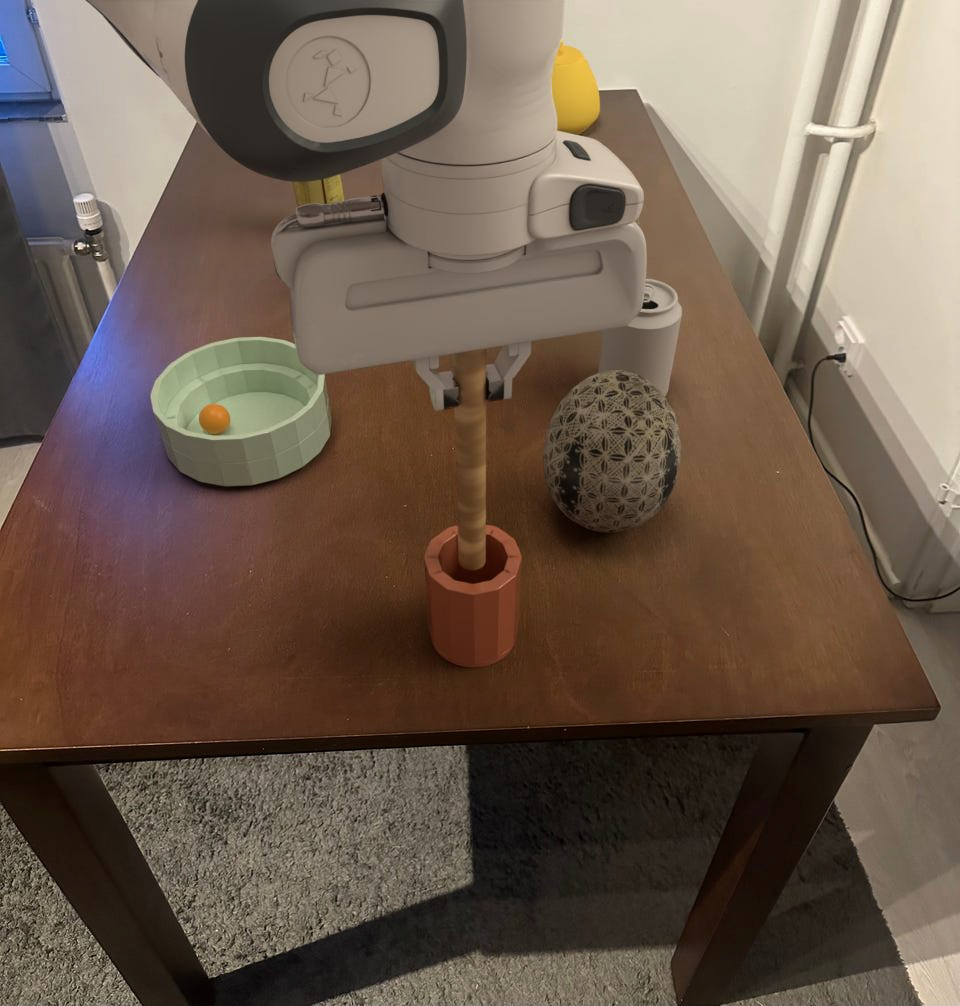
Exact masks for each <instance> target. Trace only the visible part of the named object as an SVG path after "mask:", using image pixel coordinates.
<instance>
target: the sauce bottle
mask: <svg viewBox="0 0 960 1006" xmlns="http://www.w3.org/2000/svg"><path fill="white" fill-rule="evenodd" d="M291 183H292V188H293V193H294V198H295V203H296V208H297V207H299V206H302V205H306V204H311V203H321V204H329V203H330V204H331V203H337V202H342V201H344V200H345V197H344V189H343V183H342V177H341V174H339V175H336V176H333V177H329V178H325V179H321V180H316V181H307V182H292V181H291Z"/></svg>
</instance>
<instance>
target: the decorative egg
mask: <svg viewBox="0 0 960 1006" xmlns="http://www.w3.org/2000/svg"><path fill="white" fill-rule="evenodd" d="M681 441H682V440H681V433H680V427H679V423H678V419H677V416H676V413H675V411H674V409H673V407H672V405H671V403H670V402H669V400H668V399H667V397H666V396H664V395H663V394H662V392H661V391H660V390H659V389H658V388H657V387H656V386H655V385H654V384H652V383H651V382H650V381H648V380H647V379H645V378H644V377H642V376H640V375H638V374H636V373H633V372H630V371H624V370H610V371H603V372H600V373H598V372H597V373H595V374H592V375H591V376H588V377H587V378H585V379H583V380H582V381H579V383H578V384H576V385H574V387H572V388H571V389H570V391H568V392H567V394H566V395H565V396H564V397H563V398H562V400H561V401H560V403H559V404H558V405H557V408H556V409H555V411H554V413H553V414H552V417H551V420H550V422H549V425H548V428H547V430H546V434H545V440H544V445H543V450H542V451H543V452H542V466H543V467H542V468H543V475H544V479H545V485H546V486H547V490H548V492H549V495H550V496H551V498H552V500H553V502H554V504H555V505H556V506H557V508H558V509H559V510H560V511H561V512H562V514H564V515H565V516H566V517H567V518H568V519H569V520H571V521H572V522H574V523H575V524H576V525H579V526H581V527H583V528H585V529H588V530H590V531H594V532H599V533H609V534H610V533H612V534H613V533H621V532H625V531H626V532H627V531H628V530H632V529H635V528H637V527H640V526H642V525H643V524H645V523H646V522H649V520H651V519H652V518H654V517H655V516H656V515H657V514H658V512H659V511H660V510H661V509H662V508H663V507H664V506H665V504H666V503H667V501H668V500H669V498H670V496H671V494H672V492H673V490H674V488H675V485H676V482H677V480H678V477H679V473H680V466H681V458H682V442H681Z"/></svg>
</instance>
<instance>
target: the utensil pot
mask: <svg viewBox="0 0 960 1006" xmlns="http://www.w3.org/2000/svg"><path fill="white" fill-rule="evenodd" d="M516 541H517V540H516V539H515V538H514V537H512V536H511V535H510V534H508V533H506V532H505V531H504V530H502V528H499V527H498V526H496V525H491V524H486V562H485V564H484V566H483V567H481V568H480V569H477V570H467V569H464V568H463V567H462V566H461V565H460V563H459V552H458V524H456V525H451V526H448V527H447V528H445V529H444V530H443V531H441V532H440V533H438V534H437V535H436V536H434V537H433V538H432V539H430V542H429V543H428V546H427V549H426V551H425V554H424V556H423V563H424V565H423V566H424V577H425V578H424V579H425V580H424V581H425V594H426V609H427V625H428V631H429V634H430V641H431V643H432V646H433V647H434V649H435V651H436V652H437V653H438V654H439V656H441V658H443V659H445V660H446V661H447V662H449V663H451V664H454V665H456V666H460V667H462V668H463V667H464V668H482V667H487V666H491V665H493V664H496V663H498V662H499V661H501V660H502V659H504V658H506V656H507V655H508V654H509V653H510V652H511V651H512V650H513V648H514V646H515V643H516V642H517V638H518V631H519V628H520V626H519V625H520V606H521V605H520V604H521V583H522V562H523V561H522V560H523V556H522V553H521V550H520V548H519V546H518V544H517V542H516Z"/></svg>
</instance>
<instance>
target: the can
mask: <svg viewBox="0 0 960 1006" xmlns="http://www.w3.org/2000/svg"><path fill="white" fill-rule="evenodd" d="M682 316H683V307H682V306H681V304H680V302H679V295H678V293H677V291H676V289H674V288H673V287H672V286H670V285H669V284H667V283H665V282H663V281H661V280H657V279H653V278H646V284H645V293H644V300H643V305H642V309H641V311H640V312H639V313H638V314H637V315H636V317H635V318H634V319H633V320H632V321H631V322H630V323H629V324H628V325H627V326H625V327H620V328H613V329H607V330H602V335H601V344H600V353H599V363H598V372H597V373H600V372H603V371H610V370H624V371H630V372H633V373H636V374H638V375H640V376H642V377H644V378H645V379H647V380H648V381H650V382H651V383H652V384H654V385H655V386H656V387H657V388H658V389H659V390H660V391H661V392H662V394H663V395H664V396H665V397H666V396H667V394H668V392H669V387H670V382H671V376H672V372H673V371H672V370H673V365H674V360H675V356H676V355H675V354H676V349H677V343H678V340H679V339H678V338H679V332H680V326H681V321H682Z"/></svg>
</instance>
